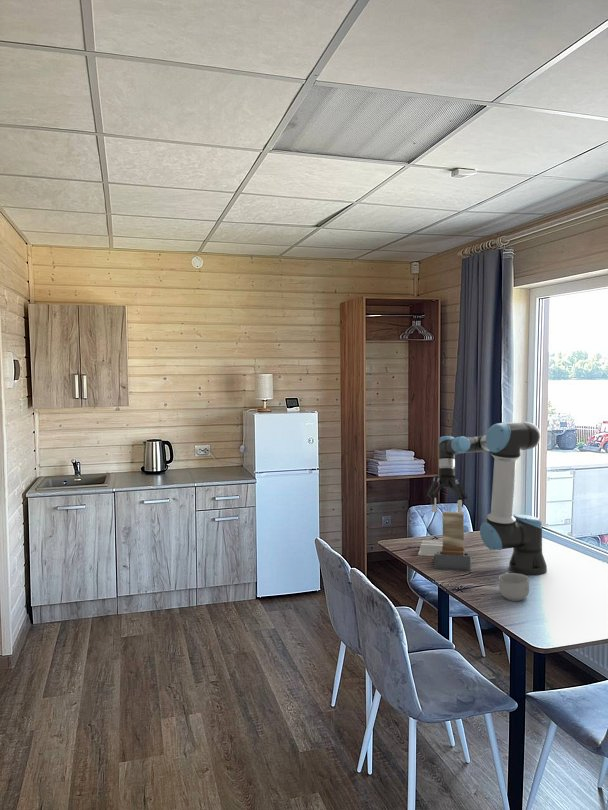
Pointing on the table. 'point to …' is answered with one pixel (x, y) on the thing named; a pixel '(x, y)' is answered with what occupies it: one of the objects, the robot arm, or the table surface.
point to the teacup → (514, 586)
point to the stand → (430, 548)
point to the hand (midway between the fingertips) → (447, 512)
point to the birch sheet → (453, 528)
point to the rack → (452, 561)
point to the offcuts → (453, 550)
